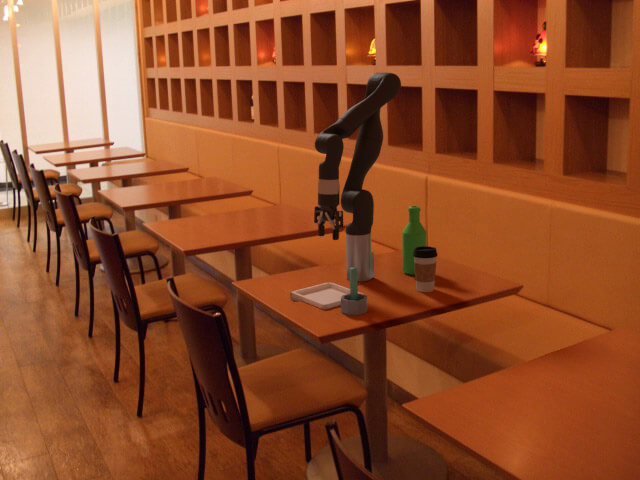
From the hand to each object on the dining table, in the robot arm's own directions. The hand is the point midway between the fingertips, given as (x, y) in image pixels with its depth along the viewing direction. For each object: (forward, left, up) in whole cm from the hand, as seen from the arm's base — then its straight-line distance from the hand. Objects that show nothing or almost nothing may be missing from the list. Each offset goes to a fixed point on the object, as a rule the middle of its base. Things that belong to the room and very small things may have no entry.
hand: (328, 237), depth 275 cm
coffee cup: (-22, +25, -18) cm, 38 cm away
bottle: (-34, +7, -18) cm, 39 cm away
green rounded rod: (+12, +28, -17) cm, 35 cm away
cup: (+12, +28, -18) cm, 36 cm away
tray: (+10, +11, -18) cm, 23 cm away
